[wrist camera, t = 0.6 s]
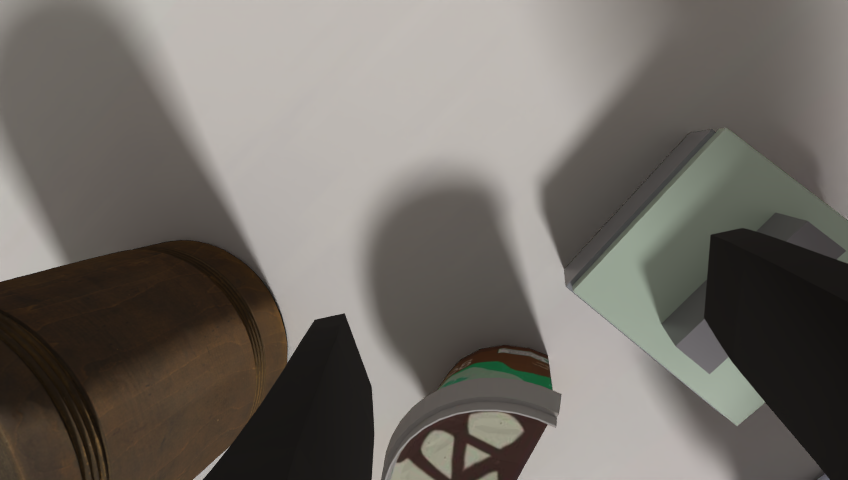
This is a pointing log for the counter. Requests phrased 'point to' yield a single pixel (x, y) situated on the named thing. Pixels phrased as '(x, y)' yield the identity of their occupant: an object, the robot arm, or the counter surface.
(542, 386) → the food container
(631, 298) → the lid
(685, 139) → the tub
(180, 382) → the wooden container
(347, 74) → the counter surface
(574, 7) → the counter surface
